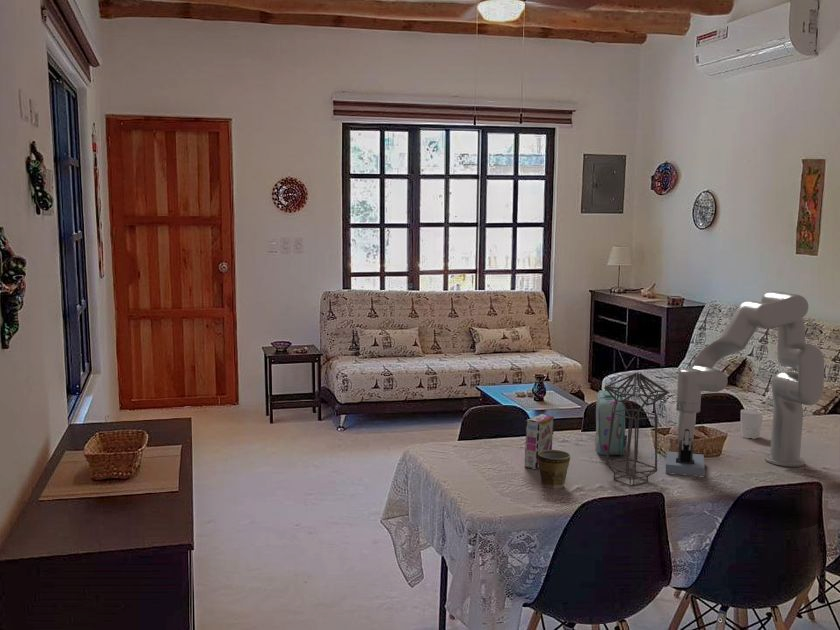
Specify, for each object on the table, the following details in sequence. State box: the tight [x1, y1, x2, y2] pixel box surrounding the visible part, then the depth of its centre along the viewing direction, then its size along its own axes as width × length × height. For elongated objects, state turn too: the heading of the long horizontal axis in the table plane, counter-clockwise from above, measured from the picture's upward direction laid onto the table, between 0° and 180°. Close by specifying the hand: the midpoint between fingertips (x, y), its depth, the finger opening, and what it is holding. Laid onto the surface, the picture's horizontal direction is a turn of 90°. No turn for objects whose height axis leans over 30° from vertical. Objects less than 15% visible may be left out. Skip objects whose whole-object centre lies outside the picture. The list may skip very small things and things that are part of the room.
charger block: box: [678, 440, 694, 464], centre depth 272 cm, size 4×4×8 cm
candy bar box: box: [524, 413, 555, 470], centre depth 274 cm, size 11×5×16 cm, turn 145°
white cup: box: [740, 408, 764, 440], centre depth 314 cm, size 8×8×10 cm
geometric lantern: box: [603, 372, 670, 487], centre depth 259 cm, size 16×16×35 cm
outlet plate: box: [664, 451, 705, 477], centre depth 274 cm, size 16×12×3 cm
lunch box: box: [594, 389, 628, 456], centre depth 294 cm, size 27×10×21 cm, turn 170°
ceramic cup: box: [538, 449, 571, 489], centre depth 255 cm, size 13×10×10 cm
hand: (685, 459), depth 272 cm, fingers closed on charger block, 4 cm apart
